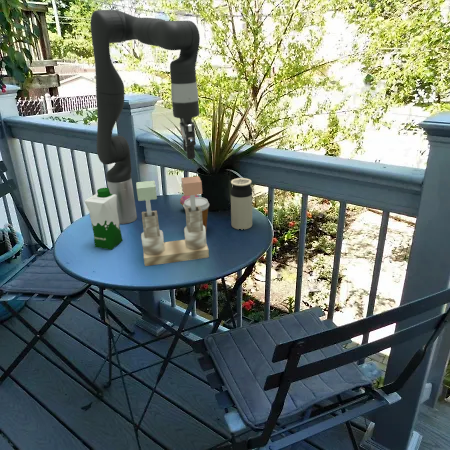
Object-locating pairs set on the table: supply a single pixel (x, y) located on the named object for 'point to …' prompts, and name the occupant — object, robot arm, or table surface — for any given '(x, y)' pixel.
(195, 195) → the cupcake
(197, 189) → the terracotta plunger
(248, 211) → the travel mug
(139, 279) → the table surface
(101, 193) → the milk carton
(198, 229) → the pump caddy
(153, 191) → the sage plunger
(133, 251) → the table surface
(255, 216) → the table surface
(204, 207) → the disposable coffee cup
